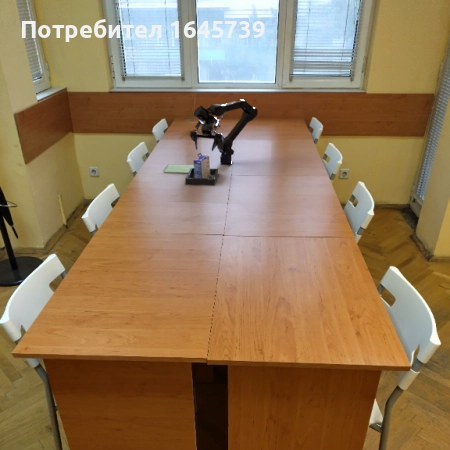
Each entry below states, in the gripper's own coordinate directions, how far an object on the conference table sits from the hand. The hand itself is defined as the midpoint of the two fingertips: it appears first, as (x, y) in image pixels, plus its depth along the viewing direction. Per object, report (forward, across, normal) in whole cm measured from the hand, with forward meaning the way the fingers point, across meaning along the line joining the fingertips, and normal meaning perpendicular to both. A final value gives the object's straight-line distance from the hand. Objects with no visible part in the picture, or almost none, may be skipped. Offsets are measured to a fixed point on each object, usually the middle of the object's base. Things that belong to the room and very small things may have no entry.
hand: (204, 150), depth 256 cm
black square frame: (+16, +2, +3) cm, 17 cm away
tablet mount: (-67, -29, +73) cm, 103 cm away
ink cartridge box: (+17, +2, +3) cm, 17 cm away
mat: (+6, -14, +13) cm, 21 cm away
